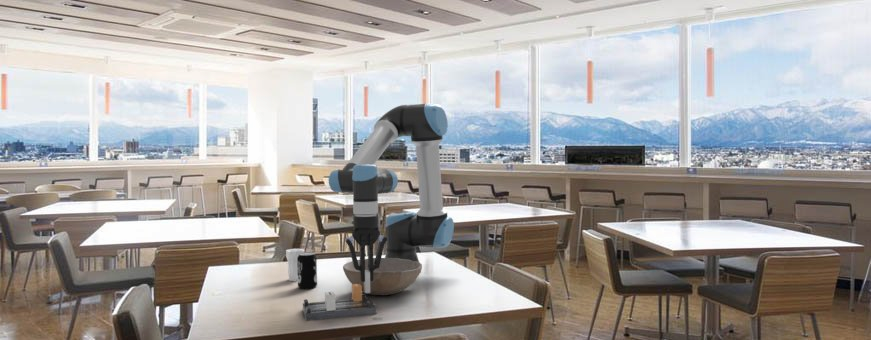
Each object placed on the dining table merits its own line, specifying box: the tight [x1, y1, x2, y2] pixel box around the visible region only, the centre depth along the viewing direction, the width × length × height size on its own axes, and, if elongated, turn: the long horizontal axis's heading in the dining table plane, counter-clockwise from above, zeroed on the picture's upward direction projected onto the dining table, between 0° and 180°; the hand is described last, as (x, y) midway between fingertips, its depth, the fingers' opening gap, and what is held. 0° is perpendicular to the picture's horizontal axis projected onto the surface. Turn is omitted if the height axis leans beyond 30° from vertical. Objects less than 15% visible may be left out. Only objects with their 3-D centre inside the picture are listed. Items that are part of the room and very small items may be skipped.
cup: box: [285, 248, 305, 282], centre depth 222 cm, size 7×7×11 cm
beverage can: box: [297, 251, 318, 290], centre depth 208 cm, size 7×7×12 cm
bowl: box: [342, 257, 423, 296], centre depth 198 cm, size 26×26×10 cm
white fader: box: [324, 291, 336, 311], centre depth 171 cm, size 2×4×5 cm
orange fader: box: [351, 284, 363, 301], centre depth 181 cm, size 2×4×5 cm
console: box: [302, 294, 378, 321], centre depth 176 cm, size 20×12×3 cm, turn 107°
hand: (367, 291), depth 182 cm, fingers closed
